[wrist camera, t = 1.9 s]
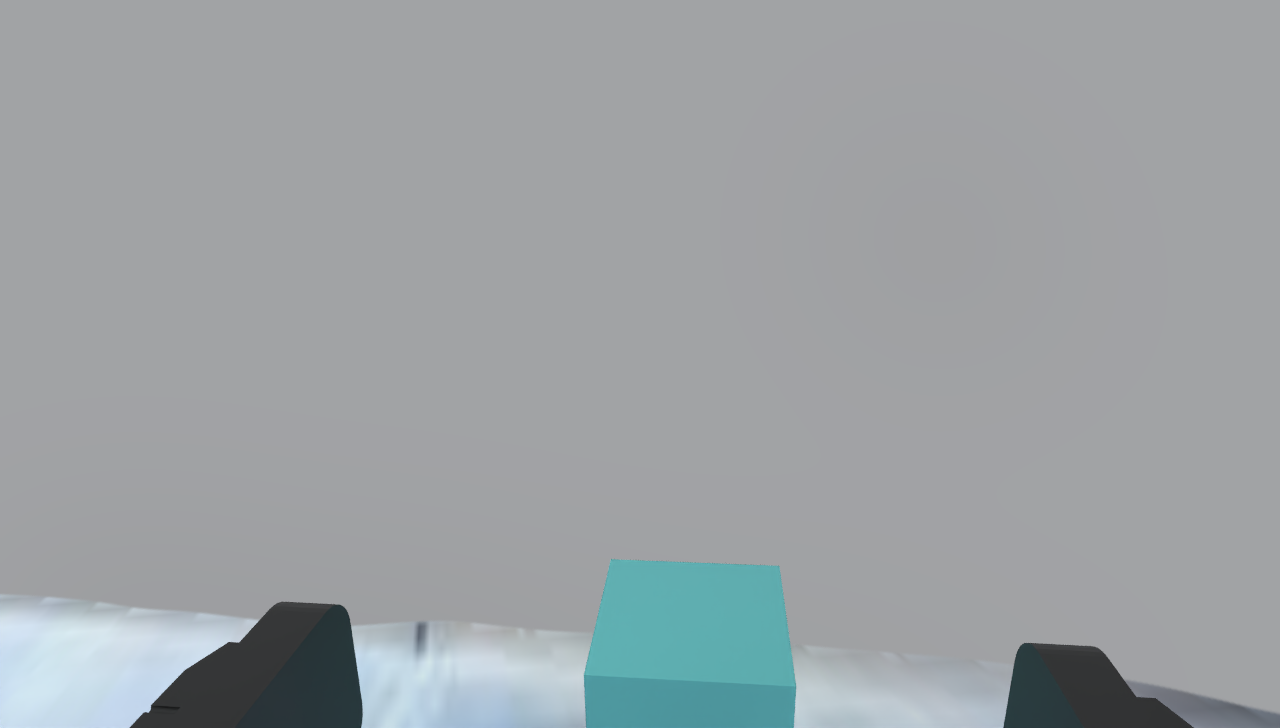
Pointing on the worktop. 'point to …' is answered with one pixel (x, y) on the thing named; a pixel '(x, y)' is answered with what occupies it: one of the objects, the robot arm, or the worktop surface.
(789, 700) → the block
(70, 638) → the worktop surface
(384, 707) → the worktop surface
